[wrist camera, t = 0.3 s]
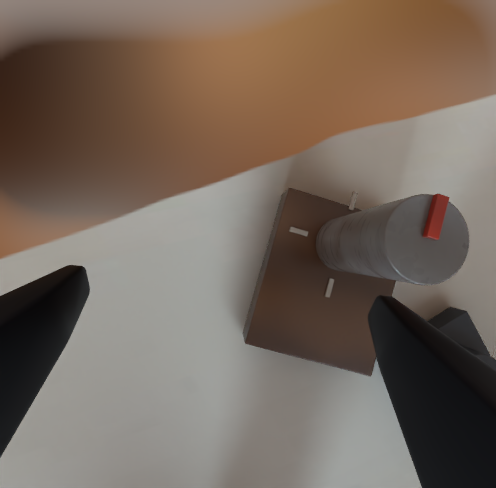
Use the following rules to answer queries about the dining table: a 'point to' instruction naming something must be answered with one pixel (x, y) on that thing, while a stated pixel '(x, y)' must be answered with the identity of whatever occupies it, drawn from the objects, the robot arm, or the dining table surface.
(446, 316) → the button box
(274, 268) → the base
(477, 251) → the dining table surface
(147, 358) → the dining table surface
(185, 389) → the dining table surface
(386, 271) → the grey cylinder with pointer
